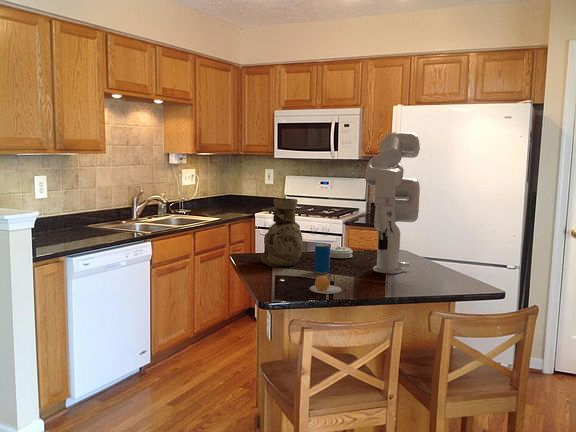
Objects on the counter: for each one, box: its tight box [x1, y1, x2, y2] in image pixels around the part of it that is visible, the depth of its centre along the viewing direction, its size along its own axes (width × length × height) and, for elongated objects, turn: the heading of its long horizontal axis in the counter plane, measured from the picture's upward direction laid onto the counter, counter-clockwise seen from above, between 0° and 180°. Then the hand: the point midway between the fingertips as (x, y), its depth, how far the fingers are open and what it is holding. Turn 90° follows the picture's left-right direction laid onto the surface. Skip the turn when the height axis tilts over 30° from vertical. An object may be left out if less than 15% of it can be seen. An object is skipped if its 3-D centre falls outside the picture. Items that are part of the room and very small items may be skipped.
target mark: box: [309, 284, 343, 295], centre depth 193 cm, size 12×12×1 cm
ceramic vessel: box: [260, 198, 304, 268], centre depth 233 cm, size 19×21×30 cm
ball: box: [314, 275, 331, 291], centre depth 191 cm, size 6×6×6 cm
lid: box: [329, 246, 354, 259], centre depth 255 cm, size 13×13×5 cm
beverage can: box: [313, 243, 331, 275], centre depth 220 cm, size 6×6×12 cm
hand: (382, 249), depth 197 cm, fingers closed
